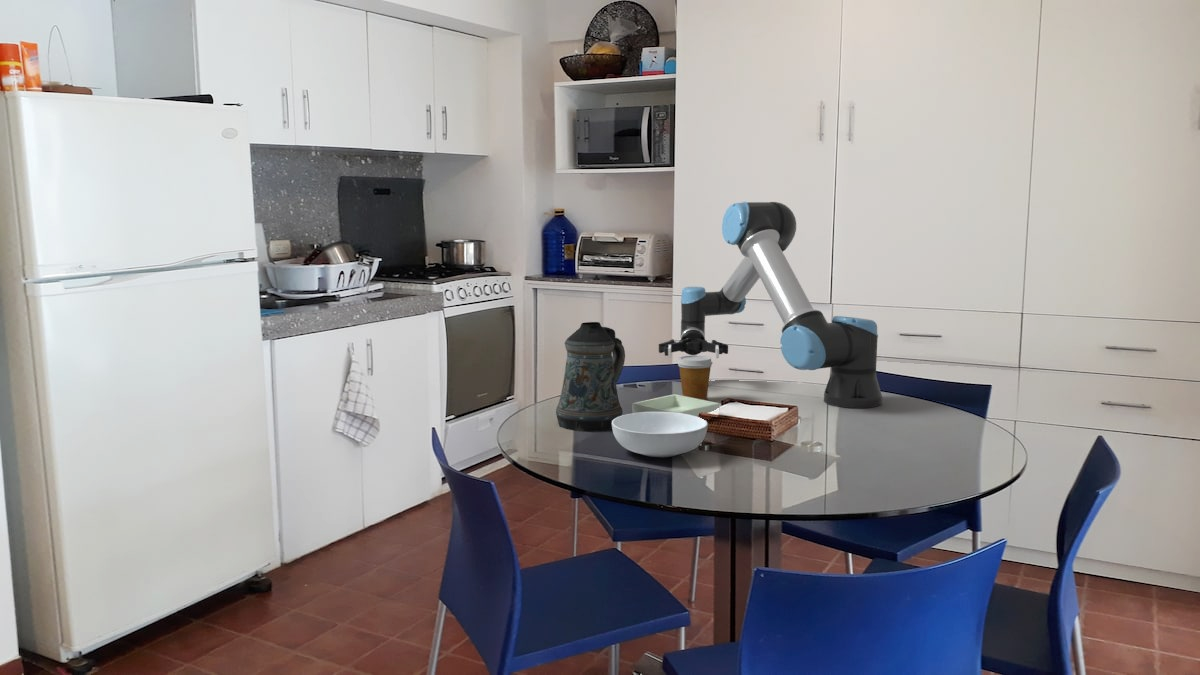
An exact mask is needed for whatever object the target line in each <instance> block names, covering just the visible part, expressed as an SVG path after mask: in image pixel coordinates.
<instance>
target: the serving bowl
mask: <svg viewBox="0 0 1200 675" xmlns="http://www.w3.org/2000/svg"><path fill="white" fill-rule="evenodd" d="M708 427H709V423H708V421H707V420H704V419H702V418H700V417H697V416H693V415H688V414H683V413H674V412H639V413H627V414H622V416H619V417H617V418H615V419H614V420H613V421H612V428H611V429H612V433H613V436H614V437H615V440H616V441H617V443H618V444H620V446H622V447H623V448H624V449H625V450H628V451H630V452H632V453H636V454H640V455H643V456H645V457H652V458H669V457H675V456H677V455H681V454H685V453H688V452H691V451H693V450H695V449H696V448H697V447H699V446H700V445H701V443H702V442H703V441H704V440H705V437H706V436H707V431H708Z"/></svg>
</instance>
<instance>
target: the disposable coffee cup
mask: <svg viewBox="0 0 1200 675" xmlns="http://www.w3.org/2000/svg"><path fill="white" fill-rule="evenodd" d="M677 365H678V367H679V375H680V376H679V377H680V383H681V390H682V391H681V393H682V394H681V395H682V396H686V397H691V398H696V399H701V400H706V401H707V398H708V397H707V396H708V390H709V384H710V383H709V382H710V375H711V368H712V365H713V361H712V358H711V357H710V356H706V355H684V356H680V357H679V358H678V361H677Z"/></svg>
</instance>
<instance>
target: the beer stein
mask: <svg viewBox="0 0 1200 675" xmlns="http://www.w3.org/2000/svg"><path fill="white" fill-rule="evenodd" d="M564 347H565V350H566V359H565V360H566V361H565V368H564V375H563V382H562V387H561V392H560V395H559V396H560V397H559V400H558V404H557V406H556V409H555V415H556V418H557V424H558V426H559V427H561V428H563V429H566V430H570V431H576V432H599V431H606V430H611V429H612V421H613V420H614V419H615V418H617V417H619V416H622V415H623V408H622V406H621V403H620V400H619V397H618V389H617V382H618V380H619V378H620V377H621V374H622V372H623V369H624V365H625V360H626V352H625V347H624V345H623V342H622V340H621V339H620V338H618V337H616V331H615V330H614V329H613V328H610V327H607V326H602V324H601V322H598V321H588V322H587V321H586V322H582V323H581V324H580V327H579V328H578V329H576V330H575V331H574V332H573V333H572V334H571V335H569V336H568V337H566V339H565V341H564Z"/></svg>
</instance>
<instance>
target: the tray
mask: <svg viewBox="0 0 1200 675" xmlns="http://www.w3.org/2000/svg"><path fill="white" fill-rule="evenodd" d="M631 408H632V409H631V410H632V413H639V412H674V413H683V414H688V415H693V416H697V417H698V415H699V413H701V412H711V411H714V410H716V409H717V408H719V409H720V402H715V401H710V400H707V399H706V400H701V399H696V398H691V397H686V396H683V395H682V394H681V395H680V394H675V393H674V394H670V395H664V396H660V397H659V396H658V397H655V398H651V399H646V400H641V401H636V402H632V405H631Z"/></svg>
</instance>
